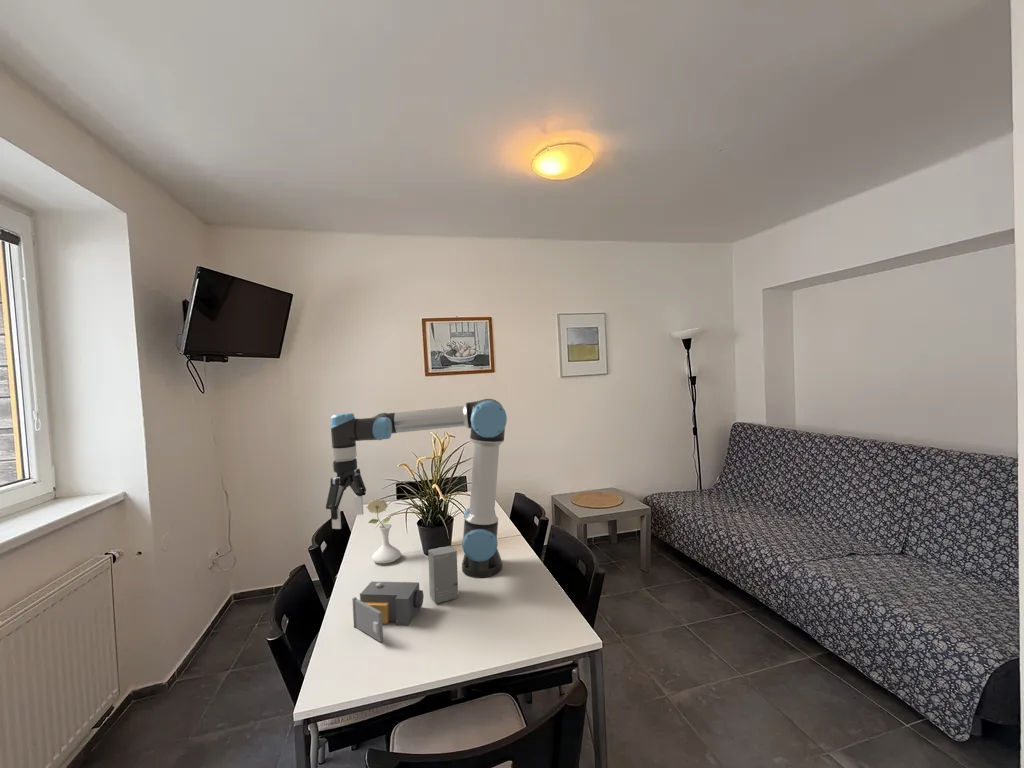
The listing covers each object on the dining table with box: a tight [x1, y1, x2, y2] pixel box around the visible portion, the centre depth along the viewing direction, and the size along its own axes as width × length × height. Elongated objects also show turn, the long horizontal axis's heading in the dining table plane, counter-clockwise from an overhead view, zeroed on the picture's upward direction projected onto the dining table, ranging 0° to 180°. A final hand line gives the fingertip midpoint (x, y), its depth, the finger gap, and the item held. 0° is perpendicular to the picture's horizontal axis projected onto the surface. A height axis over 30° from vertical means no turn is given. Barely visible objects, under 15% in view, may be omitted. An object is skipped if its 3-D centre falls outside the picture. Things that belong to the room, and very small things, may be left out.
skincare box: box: [427, 545, 459, 605], centre depth 146 cm, size 8×7×16 cm
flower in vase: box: [366, 498, 402, 564], centre depth 177 cm, size 13×11×25 cm
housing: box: [351, 581, 425, 629], centre depth 136 cm, size 18×12×9 cm, turn 83°
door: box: [355, 598, 384, 642], centre depth 127 cm, size 12×2×8 cm, turn 51°
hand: (348, 521), depth 150 cm, fingers open, 13 cm apart
